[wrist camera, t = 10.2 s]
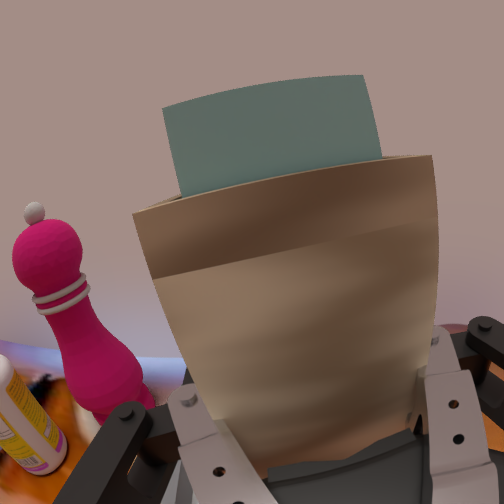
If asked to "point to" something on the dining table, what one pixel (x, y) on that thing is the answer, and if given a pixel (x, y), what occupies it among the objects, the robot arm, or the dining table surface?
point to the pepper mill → (75, 317)
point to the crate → (302, 302)
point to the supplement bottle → (27, 426)
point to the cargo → (270, 131)
